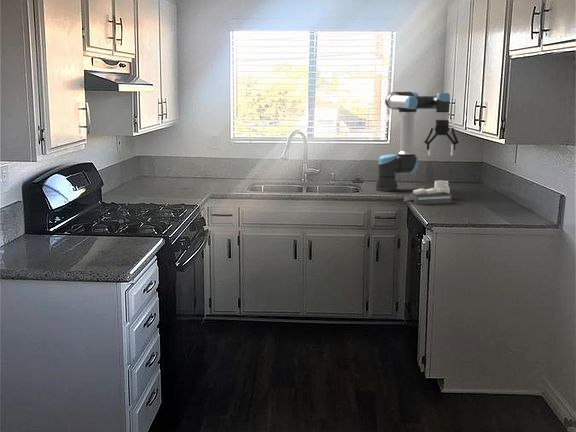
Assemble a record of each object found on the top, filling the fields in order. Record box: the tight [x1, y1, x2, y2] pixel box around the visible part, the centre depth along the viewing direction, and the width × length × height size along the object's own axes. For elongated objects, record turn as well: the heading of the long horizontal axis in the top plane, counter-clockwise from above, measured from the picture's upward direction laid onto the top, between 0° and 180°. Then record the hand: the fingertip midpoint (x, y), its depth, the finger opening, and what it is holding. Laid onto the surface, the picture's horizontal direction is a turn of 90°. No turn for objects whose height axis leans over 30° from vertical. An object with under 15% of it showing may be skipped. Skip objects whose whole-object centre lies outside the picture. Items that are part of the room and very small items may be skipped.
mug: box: [433, 179, 451, 194], centre depth 399 cm, size 12×8×10 cm
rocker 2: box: [424, 187, 437, 194], centre depth 383 cm, size 5×6×2 cm
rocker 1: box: [412, 187, 426, 194], centre depth 381 cm, size 5×6×2 cm
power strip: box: [402, 192, 453, 206], centre depth 383 cm, size 9×29×5 cm, turn 106°
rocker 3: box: [436, 188, 449, 193], centre depth 386 cm, size 5×6×2 cm
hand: (440, 155), depth 386 cm, fingers open, 13 cm apart
